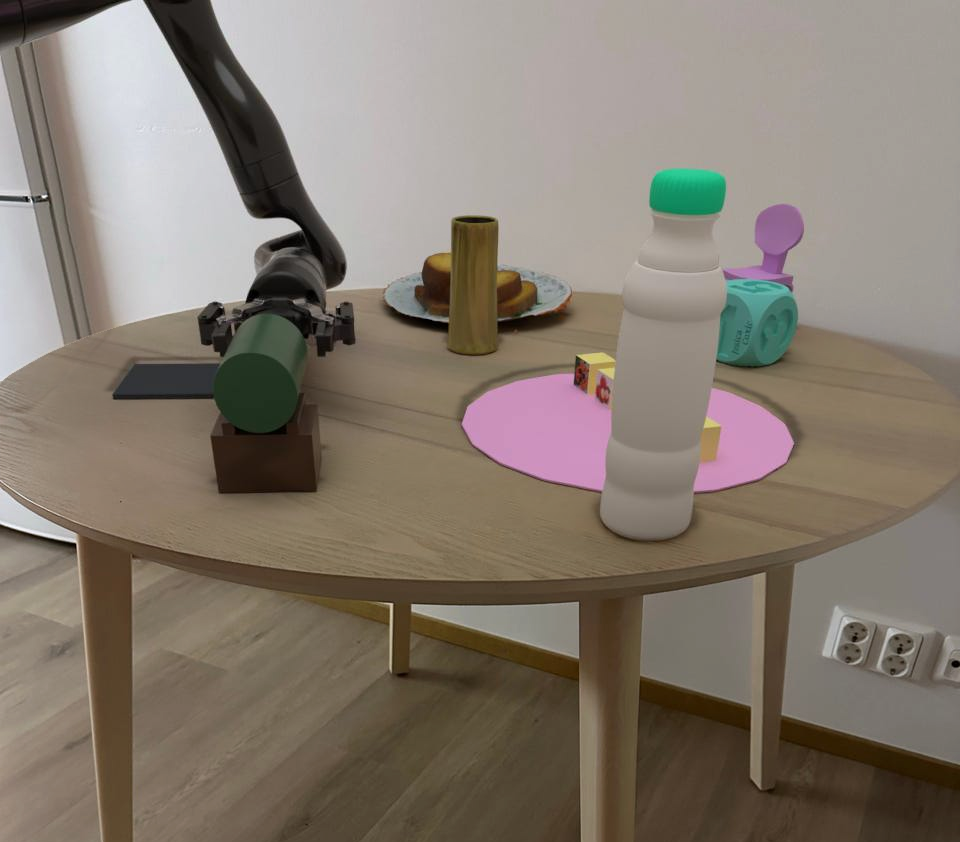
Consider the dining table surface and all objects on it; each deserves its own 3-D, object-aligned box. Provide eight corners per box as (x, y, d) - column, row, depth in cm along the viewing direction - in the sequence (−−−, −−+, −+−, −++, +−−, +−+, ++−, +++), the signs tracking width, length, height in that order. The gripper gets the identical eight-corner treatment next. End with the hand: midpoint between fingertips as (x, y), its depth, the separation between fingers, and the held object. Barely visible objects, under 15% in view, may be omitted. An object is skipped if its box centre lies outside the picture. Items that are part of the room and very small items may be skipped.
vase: (506, 344, 112) (510, 217, 104) (485, 358, 107) (488, 226, 99) (460, 337, 114) (462, 212, 106) (438, 350, 109) (437, 220, 101)
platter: (680, 362, 108) (684, 333, 106) (867, 467, 83) (877, 431, 81) (419, 390, 98) (418, 358, 96) (543, 518, 73) (546, 479, 71)
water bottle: (580, 520, 73) (611, 168, 59) (640, 496, 77) (682, 161, 63) (647, 553, 69) (698, 182, 55) (707, 527, 72) (769, 174, 58)
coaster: (113, 399, 94) (112, 394, 93) (135, 368, 102) (134, 363, 102) (213, 398, 95) (212, 393, 94) (227, 367, 103) (226, 363, 102)
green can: (218, 433, 73) (206, 352, 69) (237, 387, 82) (228, 313, 78) (300, 432, 73) (293, 352, 69) (310, 387, 82) (304, 313, 79)
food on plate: (606, 320, 122) (611, 268, 118) (439, 345, 111) (439, 289, 108) (506, 279, 140) (508, 232, 136) (355, 297, 130) (352, 247, 126)
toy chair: (700, 327, 120) (719, 201, 112) (754, 321, 123) (777, 198, 115) (740, 345, 114) (764, 213, 105) (796, 338, 117) (823, 209, 109)
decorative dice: (694, 353, 111) (704, 284, 106) (737, 343, 115) (749, 275, 110) (747, 371, 105) (760, 298, 101) (790, 359, 109) (805, 289, 105)
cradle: (218, 493, 76) (208, 423, 72) (230, 459, 82) (221, 393, 78) (316, 491, 76) (310, 422, 73) (321, 458, 82) (316, 392, 79)
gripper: (212, 261, 92) (182, 302, 79) (355, 261, 93) (350, 302, 80) (222, 337, 96) (196, 388, 83) (359, 336, 97) (355, 387, 84)
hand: (272, 346), depth 81 cm, fingers open, 8 cm apart
